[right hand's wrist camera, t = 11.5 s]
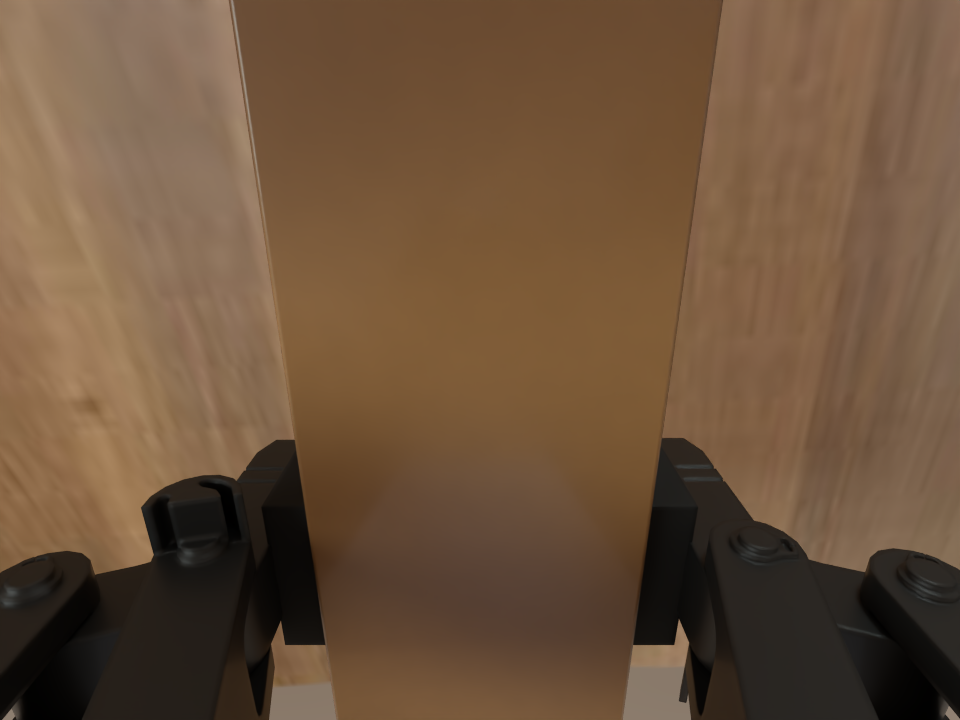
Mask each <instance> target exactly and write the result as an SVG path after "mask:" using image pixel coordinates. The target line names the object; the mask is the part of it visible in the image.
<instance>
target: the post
mask: <svg viewBox="0 0 960 720" xmlns="http://www.w3.org/2000/svg"><path fill="white" fill-rule="evenodd" d="M722 3H723V0H229V4H230V11H231V18H232V24H233V31H234V38H235V44H236V51H237V58H238V64H239V71H240V78H241V84H242V91H243V98H244V104H245V111H246V118H247V124H248V131H249V138H250V144H251V151H252V158H253V164H254V171H255V178H256V184H257V191H258V198H259V204H260V211H261V218H262V224H263V231H264V238H265V245H266V251H267V258H268V265H269V271H270V278H271V285H272V291H273V298H274V305H275V311H276V318H277V325H278V331H279V338H280V345H281V351H282V358H283V365H284V371H285V378H286V385H287V391H288V398H289V405H290V411H291V418H292V425H293V431H294V438H295V445H296V451H297V458H298V465H299V472H300V478H301V485H302V492H303V498H304V505H305V512H306V518H307V525H308V532H309V538H310V545H311V552H312V558H313V565H314V572H315V578H316V585H317V592H318V598H319V605H320V612H321V618H322V625H323V632H324V638H325V645H326V652H327V658H328V665H329V672H330V678H331V685H332V692H333V698H334V705H335V712H336V718H337V720H623V713H624V705H625V698H626V691H627V684H628V677H629V670H630V663H631V655H632V648H633V641H634V634H635V627H636V620H637V612H638V605H639V598H640V591H641V584H642V577H643V569H644V562H645V555H646V548H647V541H648V534H649V526H650V519H651V512H652V505H653V498H654V491H655V483H656V476H657V469H658V462H659V455H660V448H661V440H662V433H663V426H664V419H665V412H666V405H667V397H668V390H669V383H670V376H671V369H672V362H673V354H674V347H675V340H676V333H677V326H678V319H679V311H680V304H681V297H682V290H683V283H684V276H685V268H686V261H687V254H688V247H689V240H690V233H691V225H692V218H693V211H694V204H695V197H696V190H697V182H698V175H699V168H700V161H701V154H702V146H703V139H704V132H705V125H706V118H707V111H708V103H709V96H710V89H711V82H712V75H713V68H714V60H715V53H716V46H717V39H718V32H719V25H720V17H721V10H722Z"/></svg>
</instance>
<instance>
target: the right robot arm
mask: <svg viewBox="0 0 960 720" xmlns="http://www.w3.org/2000/svg"><path fill="white" fill-rule="evenodd" d="M141 509H142V513H143V517H144V520H145V524H146V528H147V531H148V535H149V539H150V542H151V546H152V550H153V553H154V556H153V558H152V560H151V562H149V563H145V564H142V565H138V566H134V567H129V568H124V569H120V570H115V571H110V572H106V573H101V574H96V575H95V573H94V570H93V567H92V564H91V561H90V559H88V558H87V557H86V556H85V555H83V554H82V553H77V552H71V551H63V552H55V553H47V554H44V555H39V556H37V557H33V558H30V559H27V560H24V561H22V562H20V563H19V564H17V565H15V566H13V567H10V568H8V569H6V570H4V571H3V572H1V573H0V720H2V719H3V718H4V717H5V716H6V714H7V713H8V712H9V711H10V710H11V708H12V710H13V712H14V715H15V717H14V719H13V720H269V714H270V705H271V696H272V687H273V678H274V669H275V666H274V659H273V652H272V647H271V643H272V640H273V638H274V635H275V633H276V631H277V628H278V626H279V624H280V621H281V623H282V629H283V635H284V640H285V645H325V638H324V632H323V625H322V618H321V612H320V605H319V598H318V592H317V585H316V578H315V572H314V565H313V558H312V552H311V545H310V538H309V532H308V525H307V518H306V512H305V505H304V498H303V492H302V485H301V478H300V472H299V465H298V458H297V451H296V445H295V440H276V441H274V442H273V443H271V444H270V445H268V446H267V447H265V448H264V449H262V450H261V451H259V452H258V453H257V454H256V455H255V456H254V458H253V459H252V461H251V462H250V463H249V465H248V466H247V467H246V471H244V472H243V473H242V474H241V476H240V477H239V478H238V480H237V481H236V480H235V479H233V478H230V477H226V476H222V475H202V476H198V477H193V478H189V479H184V480H181V481H179V482H176V483H174V484H172V485H169V486H167V487H165V488H163V489H162V490H160V491H158V492H157V493H155V494H154V495H152V496H151V497H150V498H149V499H148V500H147V501H146V502H145V504H144V505H143V506H142V507H141ZM679 620H680V622H681V624H682V627H683V629H684V631H685V634H686V636H687V638H688V641H689V647H688V652H687V658H686V663H685V668H684V674H683V679H682V684H681V690H680V697H679V701H680V702H685V703H686V702H687V696H688V695H689V703H690V713H691V720H949V718H948V717H947V716H946V715H945V713H946V711H947V709H948V706H950V707H951V708H952V710H953V711H954V712H955V713H956V714H957V716H958V717H959V718H960V570H959V569H957V568H955V567H953V566H951V565H949V564H947V563H945V562H943V561H941V560H939V559H937V558H935V557H932V556H929V555H927V554H926V555H925V554H923V553H919V552H915V551H910V550H902V549H894V548H893V549H886V550H880V551H877V552H876V553H875V554H874V555H873V556H871V557H870V559H869V562H868V565H867V569H866V572H861V571H856V570H851V569H847V568H842V567H837V566H833V565H828V564H823V563H819V562H816V561H812V560H809V559H808V557H807V555H806V553H805V552H804V551H803V549H802V548H801V546H800V545H799V544H798V542H796V541H795V540H794V539H792V538H791V537H790V536H788V535H787V534H786V533H784V532H783V531H781V530H779V529H776V528H774V527H772V526H770V525H768V524H765V523H761V522H757V521H754V520H753V519H752V517H751V516H750V515H749V513H748V512H747V511H746V509H745V508H744V507H743V505H742V504H741V502H740V501H739V500H738V498H737V497H736V496H735V494H734V493H733V492H732V490H731V489H730V488H729V486H728V485H727V483H726V482H725V481H723V478H722V477H721V475H720V474H719V473H718V471H717V470H716V469H714V466H713V464H712V463H711V462H710V460H709V459H708V458H707V456H706V455H705V454H704V452H703V451H702V450H700V449H699V448H697V447H696V446H694V445H693V444H691V443H690V442H688V441H687V440H685V439H684V438H662V440H661V448H660V455H659V462H658V469H657V476H656V483H655V491H654V498H653V505H652V512H651V519H650V526H649V534H648V541H647V548H646V555H645V562H644V569H643V577H642V584H641V591H640V598H639V605H638V612H637V620H636V627H635V634H634V641H633V645H674V643H675V638H676V632H677V626H678V621H679Z"/></svg>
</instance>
